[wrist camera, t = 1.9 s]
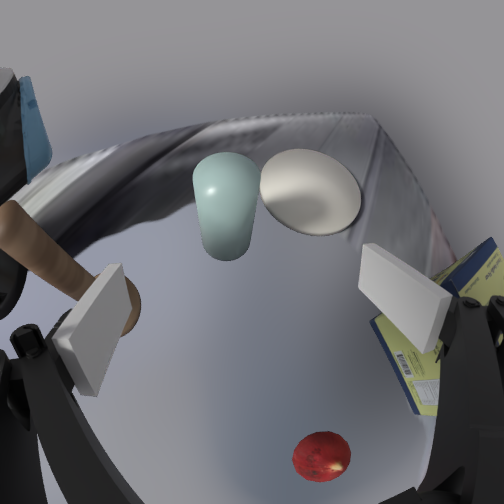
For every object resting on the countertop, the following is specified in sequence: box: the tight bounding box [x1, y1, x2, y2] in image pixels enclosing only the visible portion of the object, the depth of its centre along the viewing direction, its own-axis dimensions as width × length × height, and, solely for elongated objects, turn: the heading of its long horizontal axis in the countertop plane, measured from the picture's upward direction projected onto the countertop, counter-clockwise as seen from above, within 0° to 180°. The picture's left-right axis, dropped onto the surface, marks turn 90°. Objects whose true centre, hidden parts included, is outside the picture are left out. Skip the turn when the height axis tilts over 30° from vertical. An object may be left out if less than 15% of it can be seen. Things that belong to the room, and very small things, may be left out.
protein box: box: [370, 237, 504, 416], centre depth 23 cm, size 10×16×16 cm
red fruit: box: [292, 431, 351, 482], centre depth 21 cm, size 6×6×8 cm
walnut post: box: [0, 200, 141, 337], centre depth 20 cm, size 8×8×20 cm
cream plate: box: [259, 149, 361, 236], centre depth 38 cm, size 15×15×1 cm
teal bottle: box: [193, 152, 261, 261], centre depth 29 cm, size 6×6×12 cm
